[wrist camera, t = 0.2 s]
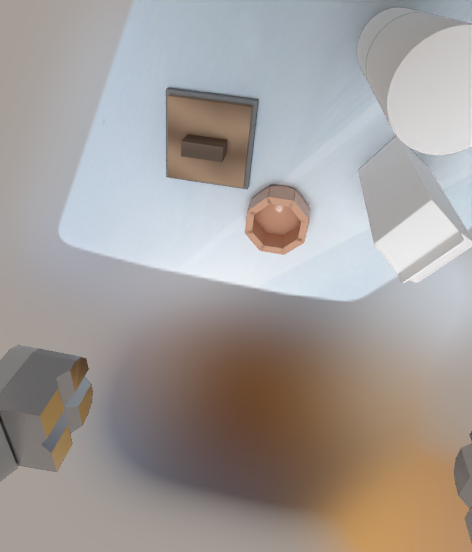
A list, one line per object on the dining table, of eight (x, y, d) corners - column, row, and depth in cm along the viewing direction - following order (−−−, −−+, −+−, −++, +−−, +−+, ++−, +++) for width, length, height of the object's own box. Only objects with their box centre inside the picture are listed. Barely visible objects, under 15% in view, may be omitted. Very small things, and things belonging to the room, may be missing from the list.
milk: (357, 169, 53) (375, 262, 35) (397, 133, 50) (439, 215, 32) (389, 201, 55) (422, 305, 37) (430, 168, 52) (488, 264, 34)
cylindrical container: (394, 95, 48) (451, 176, 28) (342, 59, 47) (361, 115, 26) (442, 33, 44) (550, 72, 24) (387, -9, 43) (450, -5, 22)
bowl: (254, 180, 56) (249, 194, 53) (312, 188, 56) (312, 203, 52) (247, 231, 61) (243, 248, 57) (302, 240, 60) (301, 257, 56)
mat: (168, 87, 51) (165, 89, 51) (258, 99, 51) (257, 101, 50) (168, 174, 58) (166, 177, 57) (248, 186, 57) (247, 189, 56)
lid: (170, 94, 51) (159, 101, 48) (252, 105, 50) (248, 113, 47) (170, 174, 57) (160, 185, 53) (244, 185, 56) (239, 197, 52)
